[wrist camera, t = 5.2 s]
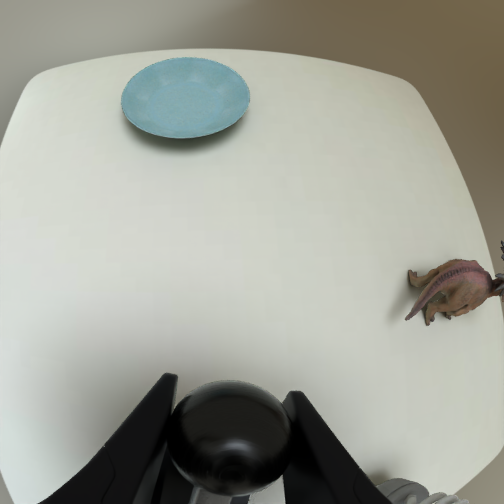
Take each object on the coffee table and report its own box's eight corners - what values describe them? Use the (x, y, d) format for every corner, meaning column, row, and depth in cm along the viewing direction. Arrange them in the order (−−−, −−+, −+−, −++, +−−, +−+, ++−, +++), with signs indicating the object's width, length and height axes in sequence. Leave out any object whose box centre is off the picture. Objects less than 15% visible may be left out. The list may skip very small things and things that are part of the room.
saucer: (162, 63, 27) (162, 47, 25) (261, 91, 28) (266, 75, 26) (101, 133, 23) (95, 117, 21) (217, 172, 24) (220, 156, 22)
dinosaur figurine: (469, 262, 27) (530, 234, 18) (477, 314, 25) (543, 295, 16) (379, 265, 24) (455, 224, 15) (388, 333, 22) (472, 317, 14)
